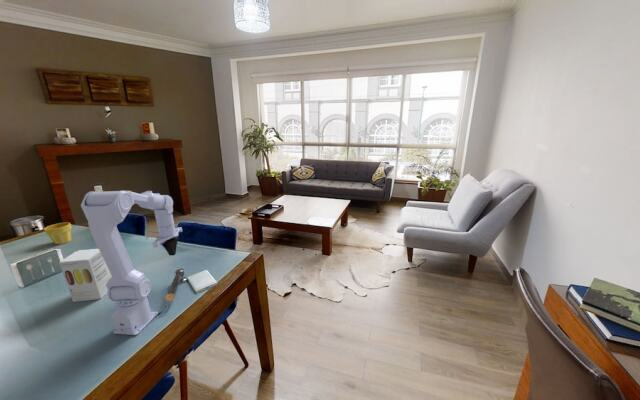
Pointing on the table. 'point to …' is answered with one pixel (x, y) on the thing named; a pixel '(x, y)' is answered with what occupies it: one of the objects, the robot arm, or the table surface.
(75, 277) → the supplement box
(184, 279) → the door knob
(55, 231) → the plant pot
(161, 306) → the table surface
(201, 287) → the hard drive
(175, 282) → the grey bar
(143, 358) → the table surface
